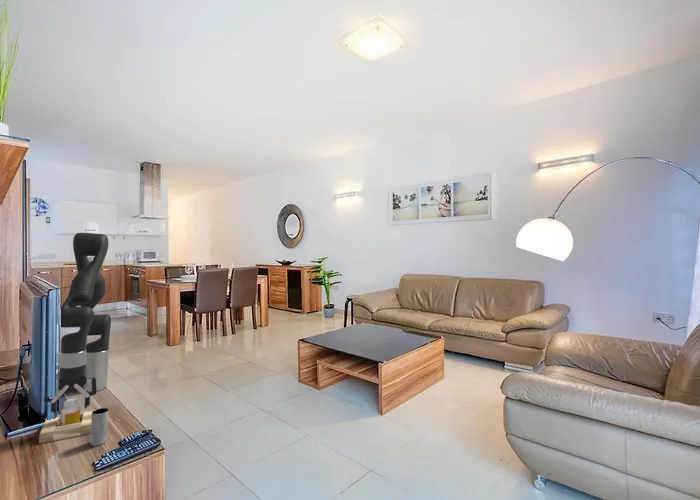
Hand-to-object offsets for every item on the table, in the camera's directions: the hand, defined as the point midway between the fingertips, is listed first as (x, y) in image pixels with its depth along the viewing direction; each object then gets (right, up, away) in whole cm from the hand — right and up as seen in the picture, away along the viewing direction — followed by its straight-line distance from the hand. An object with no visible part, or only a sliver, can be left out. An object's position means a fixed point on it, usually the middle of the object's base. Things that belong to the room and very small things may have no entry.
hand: (70, 409), depth 122 cm
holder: (0, -7, 0) cm, 7 cm away
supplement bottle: (0, -7, 0) cm, 7 cm away
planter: (+16, -7, -8) cm, 19 cm away
